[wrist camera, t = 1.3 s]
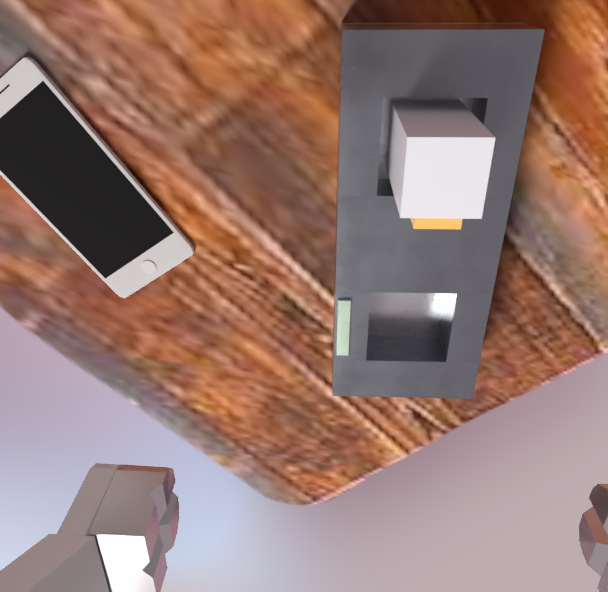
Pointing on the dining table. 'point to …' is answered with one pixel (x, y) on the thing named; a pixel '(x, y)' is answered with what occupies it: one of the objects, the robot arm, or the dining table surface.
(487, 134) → the plug
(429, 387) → the panel
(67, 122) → the smartphone
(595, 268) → the dining table surface
